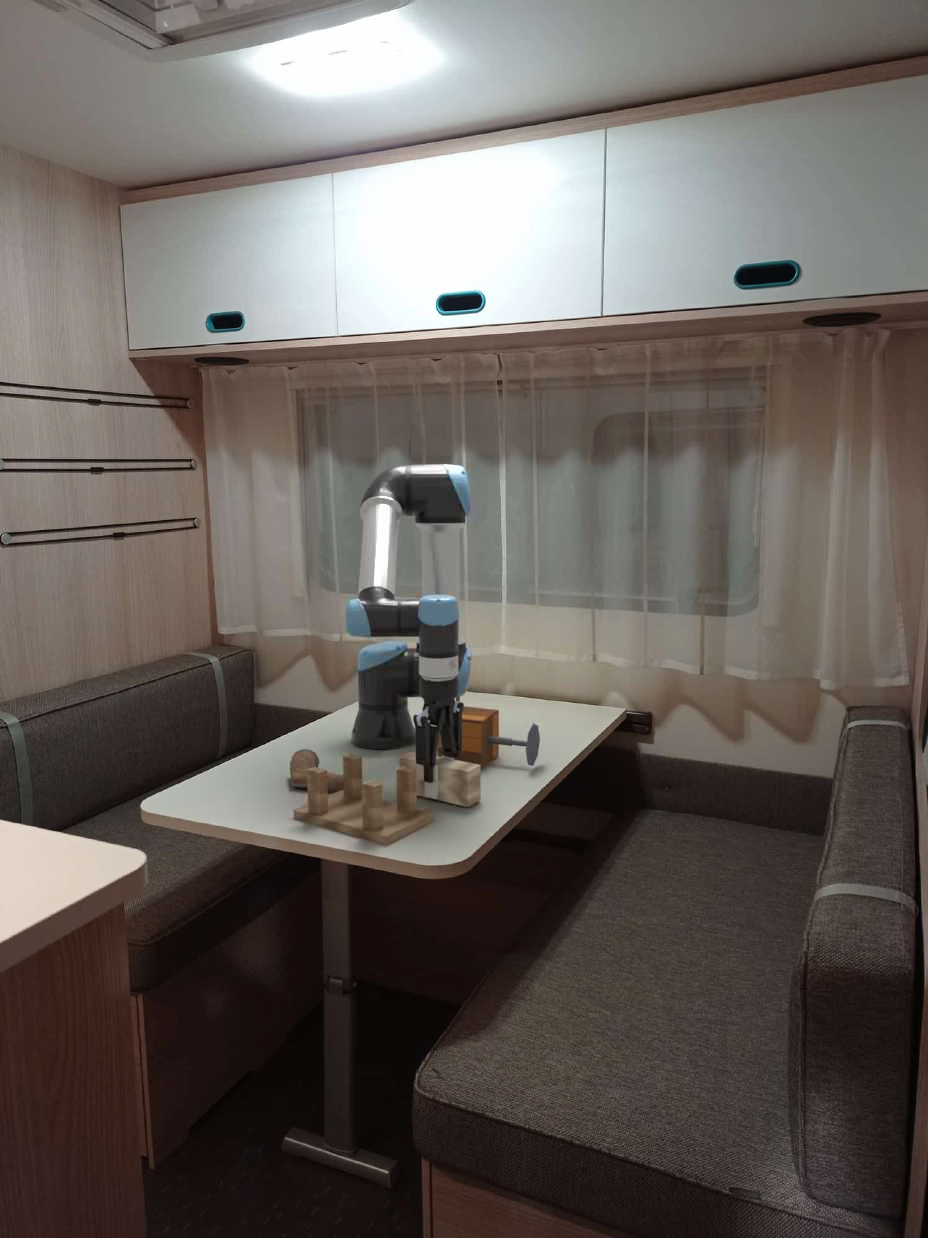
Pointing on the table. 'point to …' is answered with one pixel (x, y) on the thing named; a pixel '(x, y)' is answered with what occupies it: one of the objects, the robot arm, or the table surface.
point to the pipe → (309, 760)
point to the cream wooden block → (449, 779)
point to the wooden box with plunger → (488, 737)
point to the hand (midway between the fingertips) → (439, 793)
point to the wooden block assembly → (363, 804)
